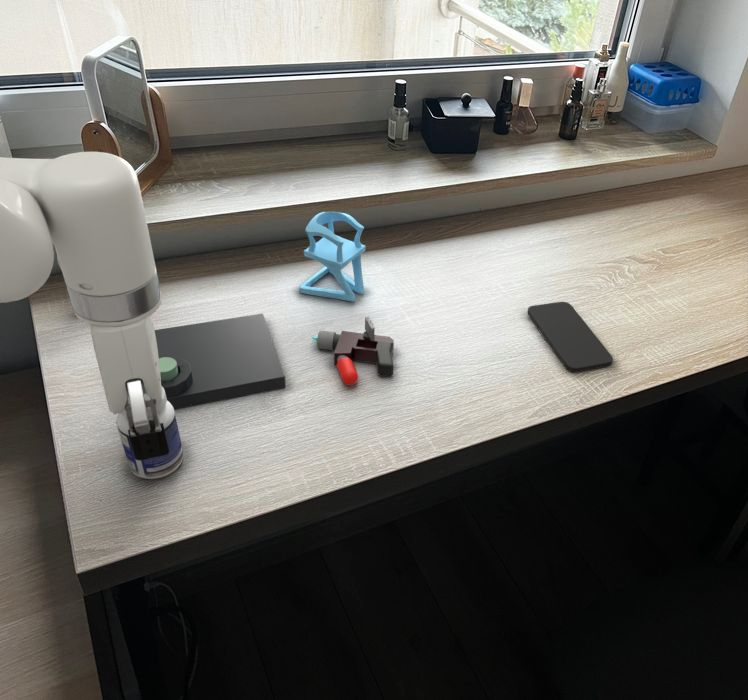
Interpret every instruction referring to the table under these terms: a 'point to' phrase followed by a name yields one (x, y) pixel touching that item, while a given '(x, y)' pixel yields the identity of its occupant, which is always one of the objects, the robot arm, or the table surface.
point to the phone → (569, 336)
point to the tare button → (168, 368)
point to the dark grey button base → (220, 360)
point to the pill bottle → (173, 459)
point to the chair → (334, 256)
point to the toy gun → (358, 351)
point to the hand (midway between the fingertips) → (148, 424)
